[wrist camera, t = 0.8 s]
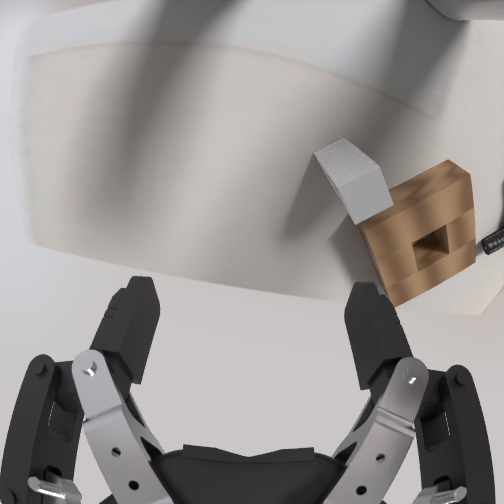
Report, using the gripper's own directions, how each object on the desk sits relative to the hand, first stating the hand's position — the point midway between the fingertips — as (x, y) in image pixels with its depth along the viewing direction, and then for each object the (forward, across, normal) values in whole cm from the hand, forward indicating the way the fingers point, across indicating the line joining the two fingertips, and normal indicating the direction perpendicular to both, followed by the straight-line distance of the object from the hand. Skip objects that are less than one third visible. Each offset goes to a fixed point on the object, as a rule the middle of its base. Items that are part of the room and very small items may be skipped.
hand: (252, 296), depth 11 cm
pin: (+22, -9, +1) cm, 24 cm away
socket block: (+22, -23, +10) cm, 34 cm away
